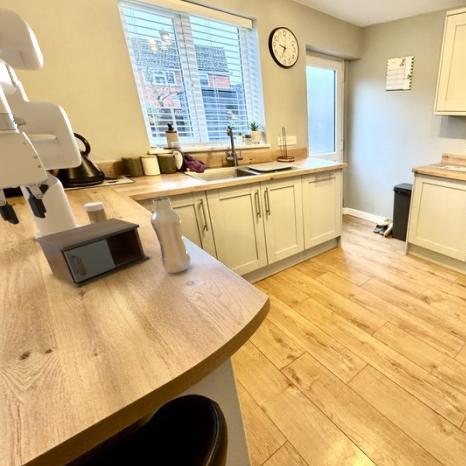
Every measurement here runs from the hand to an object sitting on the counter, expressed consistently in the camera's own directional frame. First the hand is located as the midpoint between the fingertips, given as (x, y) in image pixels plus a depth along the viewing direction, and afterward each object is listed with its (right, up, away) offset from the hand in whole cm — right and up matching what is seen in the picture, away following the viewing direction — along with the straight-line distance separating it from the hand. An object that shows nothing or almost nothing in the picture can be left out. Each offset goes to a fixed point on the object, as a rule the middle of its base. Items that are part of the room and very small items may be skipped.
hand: (27, 219), depth 59 cm
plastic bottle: (+19, -13, +20) cm, 31 cm away
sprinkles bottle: (-14, -6, +35) cm, 38 cm away
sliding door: (+2, -14, +15) cm, 20 cm away
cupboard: (-3, -12, +21) cm, 25 cm away
